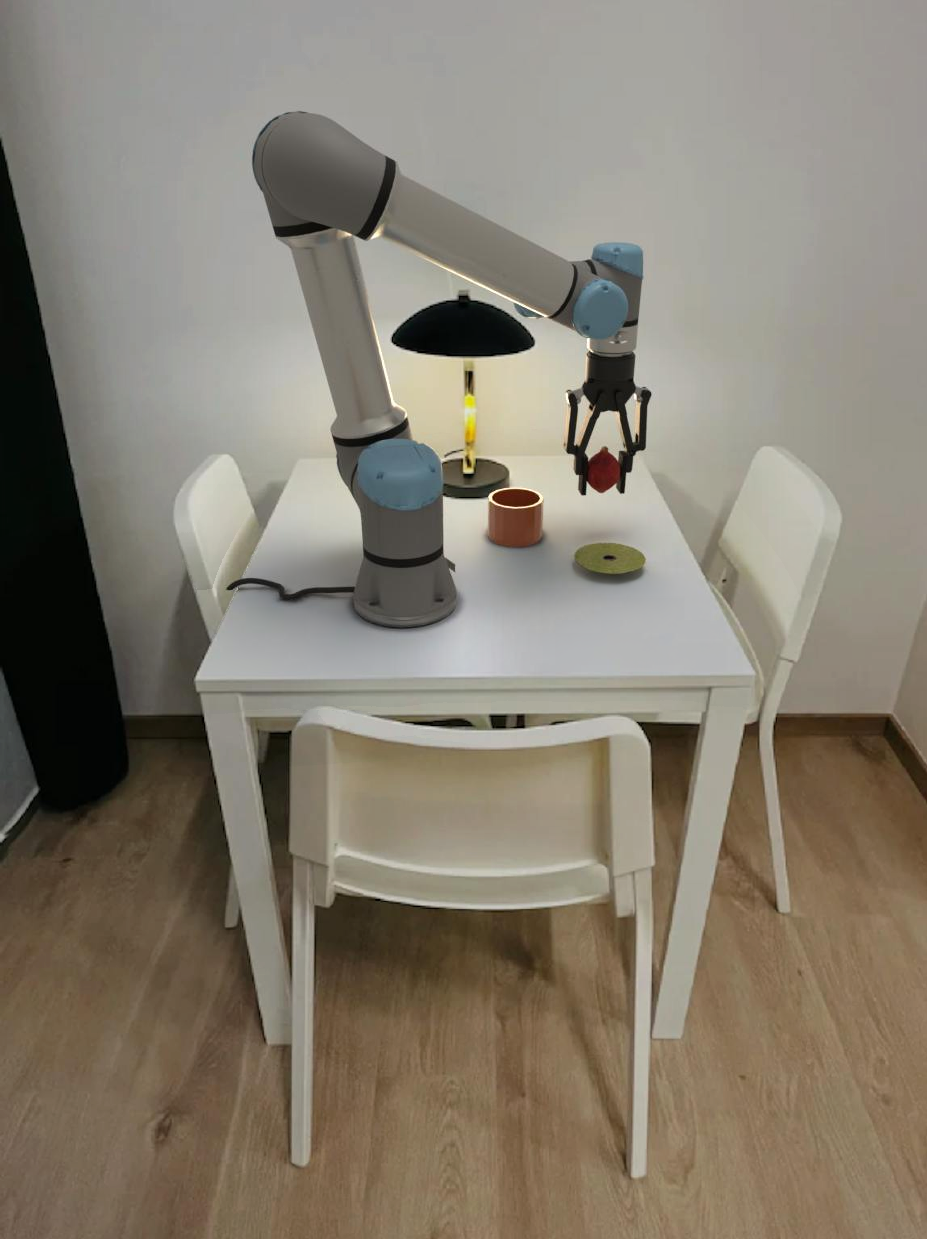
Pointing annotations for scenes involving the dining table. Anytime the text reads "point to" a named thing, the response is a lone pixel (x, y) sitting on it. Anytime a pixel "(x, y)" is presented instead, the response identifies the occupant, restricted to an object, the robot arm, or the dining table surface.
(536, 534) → the flower pot
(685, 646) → the dining table surface
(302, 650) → the dining table surface
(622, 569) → the mat
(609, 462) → the onion
